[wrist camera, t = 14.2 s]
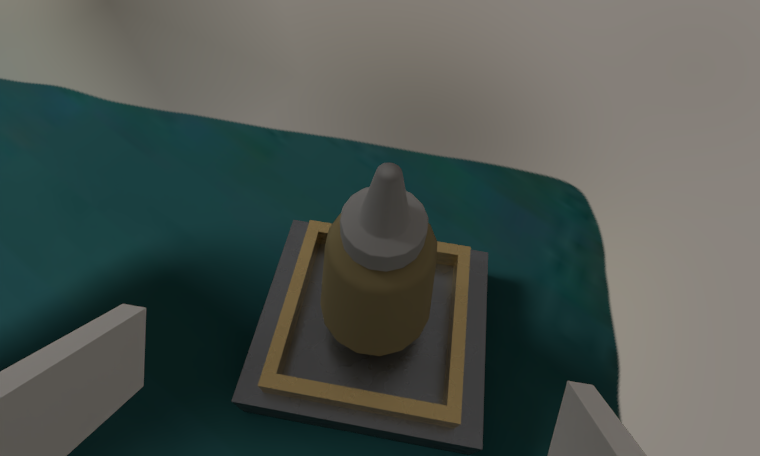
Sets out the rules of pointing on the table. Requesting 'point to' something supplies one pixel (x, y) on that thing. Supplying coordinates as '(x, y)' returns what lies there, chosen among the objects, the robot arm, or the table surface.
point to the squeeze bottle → (379, 267)
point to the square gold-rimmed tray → (371, 356)
